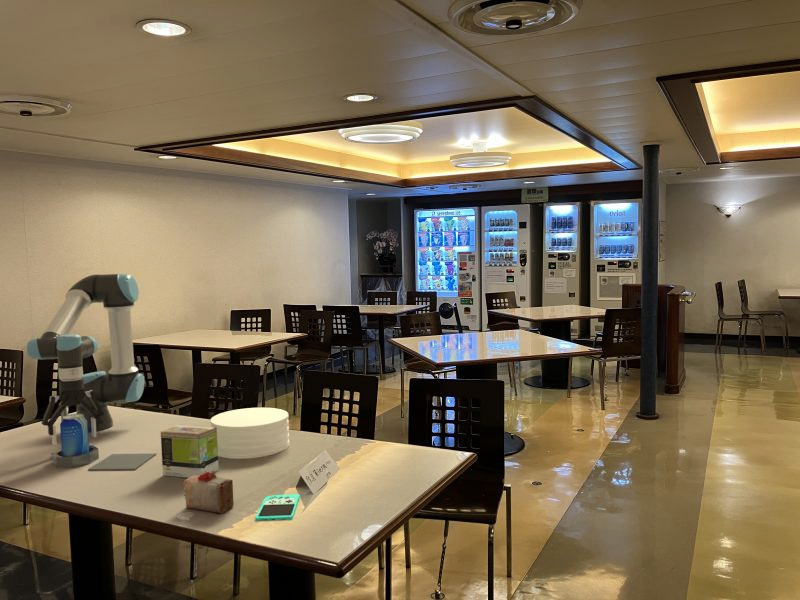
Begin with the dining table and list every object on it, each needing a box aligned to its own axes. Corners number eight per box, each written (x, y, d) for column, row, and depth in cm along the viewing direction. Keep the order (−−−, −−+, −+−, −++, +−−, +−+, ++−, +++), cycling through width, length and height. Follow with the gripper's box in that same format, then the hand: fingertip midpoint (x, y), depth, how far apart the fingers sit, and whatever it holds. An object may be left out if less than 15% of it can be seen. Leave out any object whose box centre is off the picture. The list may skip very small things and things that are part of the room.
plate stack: (195, 454, 220) (193, 423, 219) (243, 433, 246) (241, 405, 245) (260, 462, 209) (259, 429, 209) (303, 439, 235) (302, 410, 235)
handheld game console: (300, 497, 178) (300, 493, 178) (293, 521, 162) (293, 516, 162) (266, 499, 178) (265, 494, 178) (255, 522, 162) (254, 517, 162)
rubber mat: (112, 455, 221) (112, 453, 221) (156, 454, 220) (156, 453, 220) (88, 470, 205) (88, 469, 205) (135, 470, 204) (135, 468, 204)
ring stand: (63, 451, 227) (60, 398, 226) (111, 450, 226) (108, 398, 225) (31, 467, 209) (28, 411, 208) (84, 467, 208) (80, 410, 207)
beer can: (94, 457, 219) (91, 413, 218) (79, 465, 210) (77, 419, 209) (72, 457, 220) (69, 413, 219) (56, 464, 211) (54, 419, 210)
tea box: (219, 470, 202) (217, 425, 202) (200, 480, 193) (198, 434, 192) (182, 465, 207) (180, 422, 206) (161, 476, 198) (159, 430, 197)
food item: (179, 509, 170) (178, 474, 170) (199, 499, 178) (197, 465, 177) (219, 516, 165) (218, 480, 165) (238, 505, 173) (236, 470, 172)
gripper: (34, 385, 202) (38, 450, 204) (111, 375, 219) (114, 434, 220) (28, 382, 208) (32, 445, 209) (104, 373, 224) (107, 431, 225)
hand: (74, 440), depth 215 cm, fingers open, 12 cm apart
